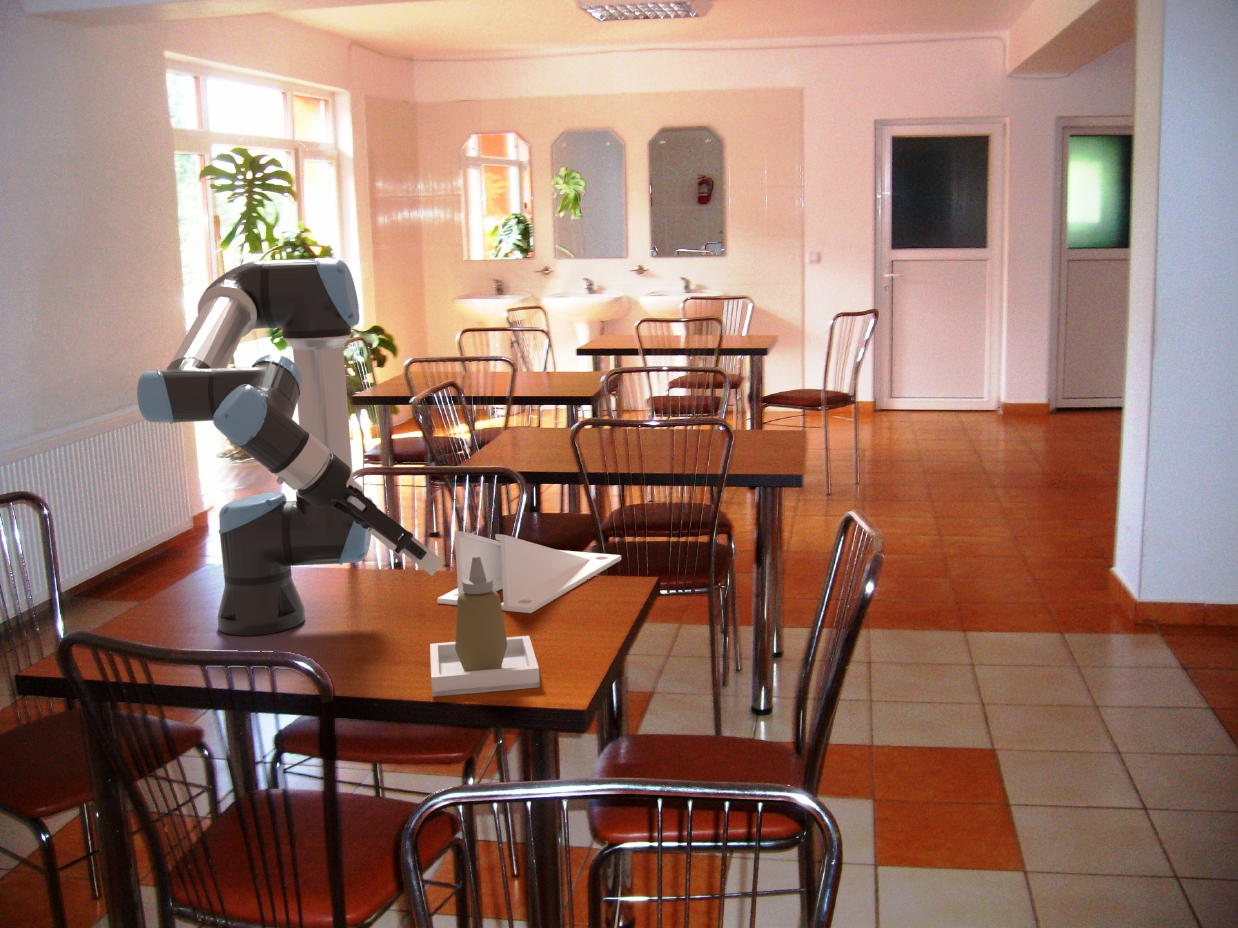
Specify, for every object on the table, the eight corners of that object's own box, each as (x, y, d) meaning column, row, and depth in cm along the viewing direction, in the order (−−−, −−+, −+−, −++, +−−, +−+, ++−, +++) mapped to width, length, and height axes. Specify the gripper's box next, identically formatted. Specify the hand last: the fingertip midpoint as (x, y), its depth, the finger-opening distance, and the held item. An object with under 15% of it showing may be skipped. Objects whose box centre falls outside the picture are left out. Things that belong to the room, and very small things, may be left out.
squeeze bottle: (500, 679, 182) (493, 564, 179) (449, 677, 184) (442, 563, 181) (514, 661, 190) (509, 551, 187) (466, 659, 192) (459, 550, 189)
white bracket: (433, 529, 224) (535, 488, 260) (437, 603, 226) (537, 552, 262) (527, 536, 216) (619, 493, 252) (530, 613, 218) (621, 559, 254)
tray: (432, 696, 178) (431, 677, 178) (431, 661, 194) (430, 643, 193) (539, 687, 181) (538, 668, 180) (529, 653, 196) (529, 635, 196)
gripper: (274, 479, 179) (377, 560, 189) (321, 507, 158) (435, 598, 168) (306, 440, 181) (407, 523, 191) (357, 463, 160) (468, 555, 170)
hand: (420, 558), depth 180 cm, fingers open, 13 cm apart
